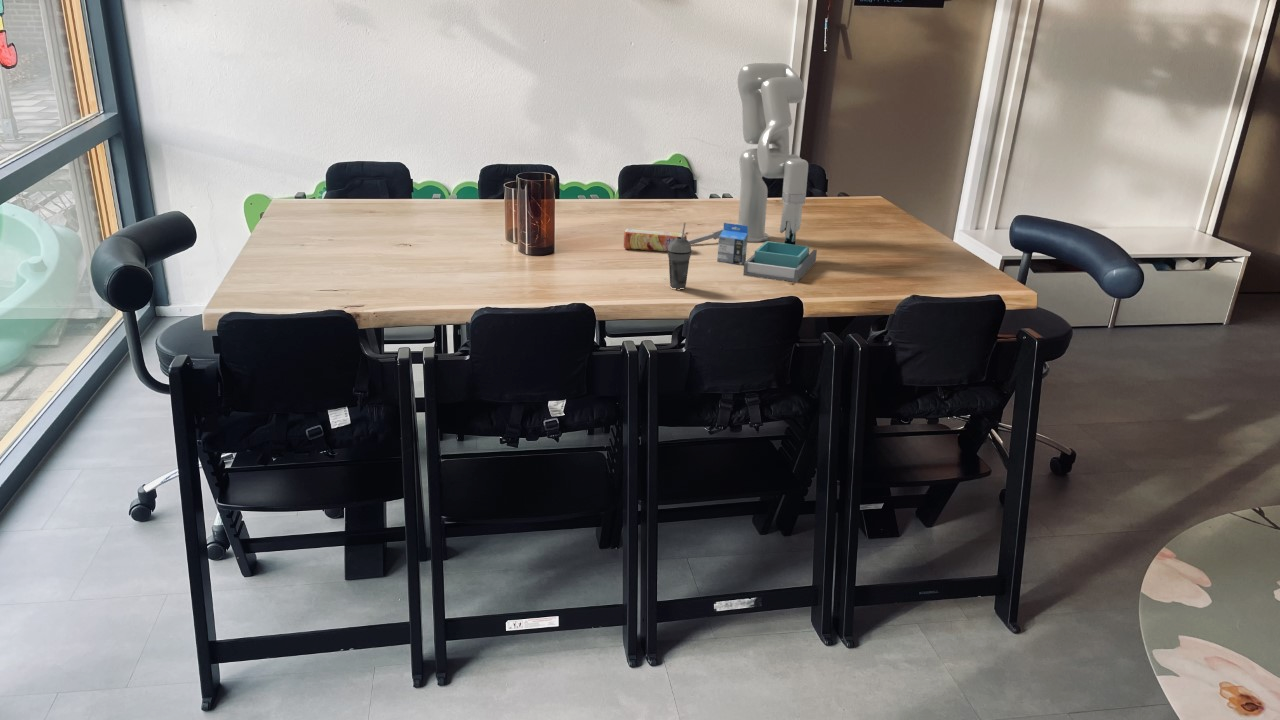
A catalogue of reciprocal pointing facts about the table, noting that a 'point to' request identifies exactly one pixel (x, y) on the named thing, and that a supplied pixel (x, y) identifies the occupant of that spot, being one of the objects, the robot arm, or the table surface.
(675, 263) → the beverage cup
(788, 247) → the teal square tray
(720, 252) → the label tape box
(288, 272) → the table surface
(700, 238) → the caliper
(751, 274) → the bay
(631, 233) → the snack package
